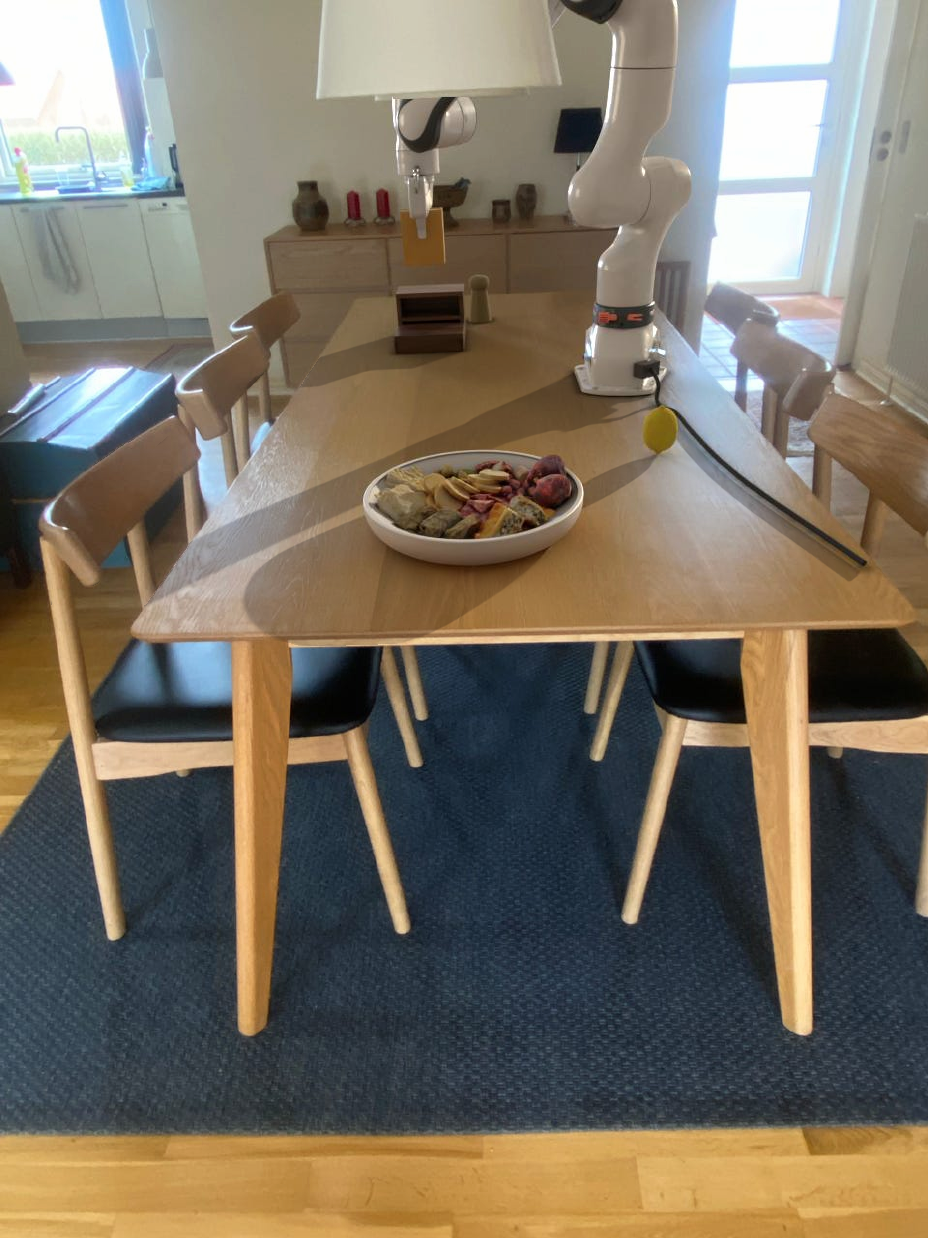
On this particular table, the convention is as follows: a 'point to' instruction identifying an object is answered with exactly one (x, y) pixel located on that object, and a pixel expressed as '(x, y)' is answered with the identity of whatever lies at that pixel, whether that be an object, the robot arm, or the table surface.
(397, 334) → the wooden l-shaped block
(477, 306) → the tan pawn game piece
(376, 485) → the bowl
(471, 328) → the table surface
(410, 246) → the book
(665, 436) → the lemon
